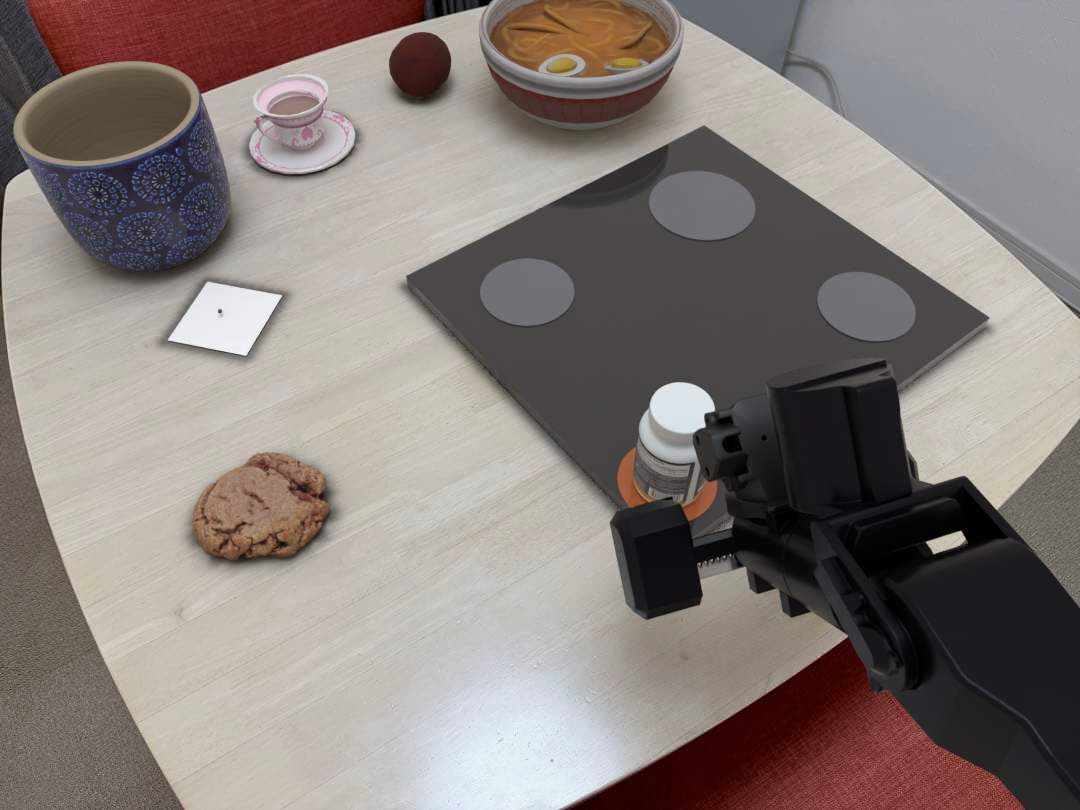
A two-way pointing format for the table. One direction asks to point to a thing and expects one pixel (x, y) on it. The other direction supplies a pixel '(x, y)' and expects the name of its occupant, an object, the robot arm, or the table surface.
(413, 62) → the potato
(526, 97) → the bowl
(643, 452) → the pill bottle
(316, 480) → the cookie
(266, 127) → the teacup
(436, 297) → the hob
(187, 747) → the table surface
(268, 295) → the coaster
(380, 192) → the table surface
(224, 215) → the planter
